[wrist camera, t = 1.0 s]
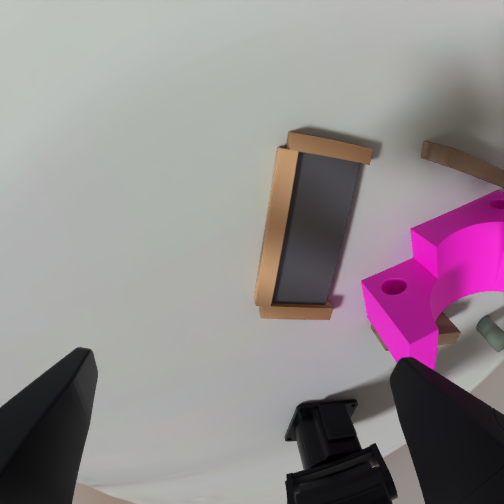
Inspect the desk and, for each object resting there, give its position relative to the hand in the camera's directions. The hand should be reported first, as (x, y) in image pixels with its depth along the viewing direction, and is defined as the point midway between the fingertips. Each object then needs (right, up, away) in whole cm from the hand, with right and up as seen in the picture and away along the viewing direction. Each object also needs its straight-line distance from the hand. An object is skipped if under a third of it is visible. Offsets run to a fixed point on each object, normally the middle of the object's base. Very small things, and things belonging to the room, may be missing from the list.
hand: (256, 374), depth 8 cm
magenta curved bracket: (+15, +3, +14) cm, 21 cm away
